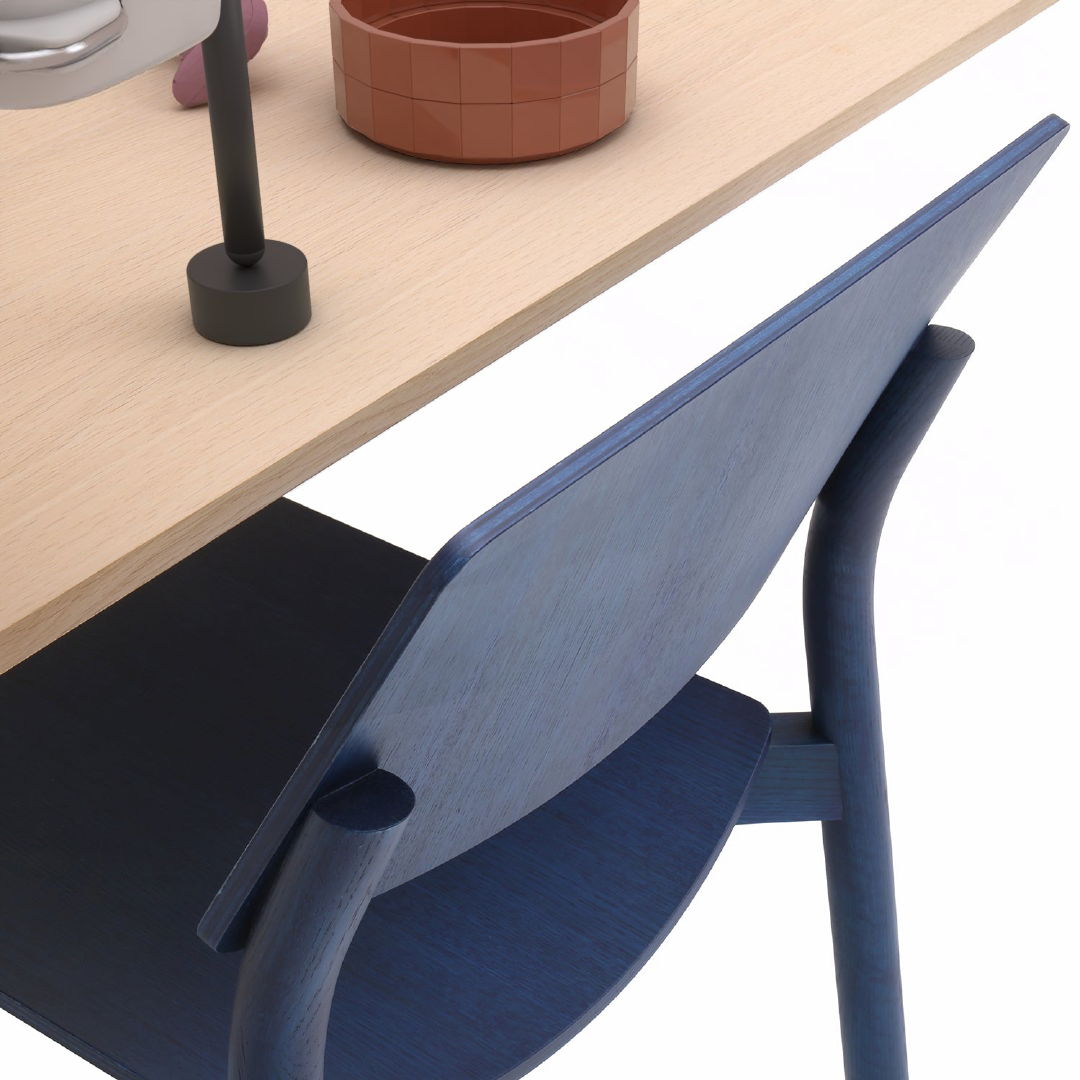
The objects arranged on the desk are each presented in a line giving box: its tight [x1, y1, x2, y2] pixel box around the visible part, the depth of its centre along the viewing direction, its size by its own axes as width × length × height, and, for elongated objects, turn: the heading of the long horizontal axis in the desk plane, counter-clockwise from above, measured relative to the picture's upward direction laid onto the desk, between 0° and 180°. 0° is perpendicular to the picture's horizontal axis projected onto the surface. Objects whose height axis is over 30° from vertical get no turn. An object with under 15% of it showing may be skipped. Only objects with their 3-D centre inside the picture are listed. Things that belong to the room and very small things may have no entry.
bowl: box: [328, 0, 641, 165], centre depth 85 cm, size 15×15×6 cm
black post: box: [185, 0, 313, 346], centre depth 64 cm, size 5×5×16 cm
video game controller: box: [171, 0, 269, 108], centre depth 89 cm, size 10×5×7 cm, turn 31°
